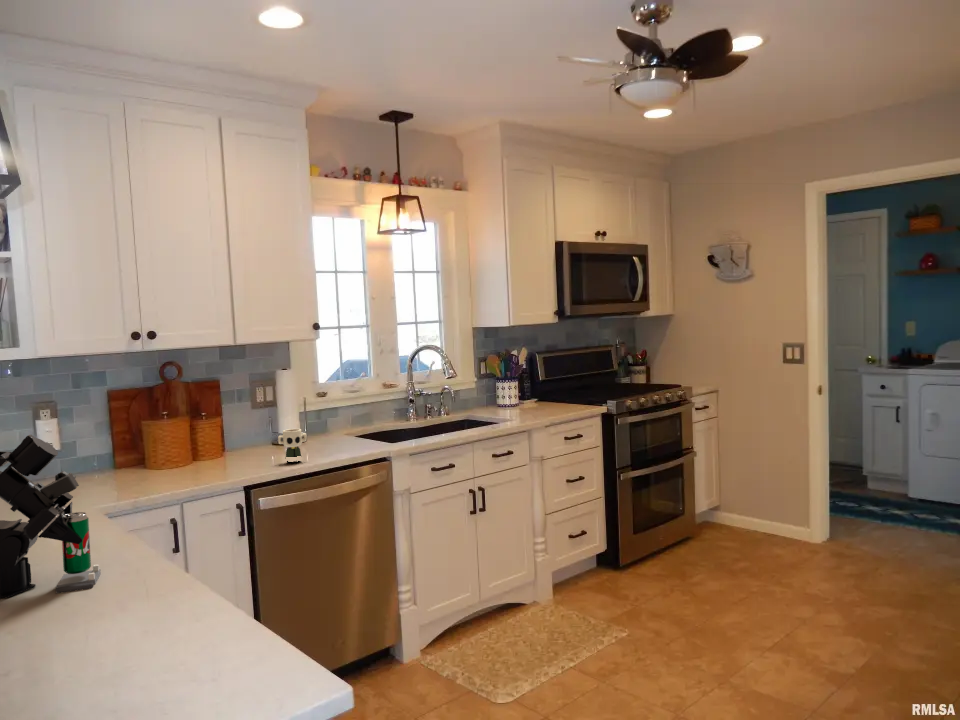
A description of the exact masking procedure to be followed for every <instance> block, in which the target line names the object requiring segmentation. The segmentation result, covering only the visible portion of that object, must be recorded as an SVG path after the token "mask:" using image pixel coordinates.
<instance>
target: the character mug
mask: <svg viewBox="0 0 960 720" xmlns="http://www.w3.org/2000/svg"><path fill="white" fill-rule="evenodd" d="M282 440H283V441H282ZM277 441H278V445H283V447H285V448H286V451H285V458H286V457H297V456H301V457H302V453H301V449H300V446H302V443H305V442H307V433H306V432H303V433H302V429H301V428H288V429H285V430H282V435H281V434H280V435H278V437H277Z"/></svg>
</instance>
